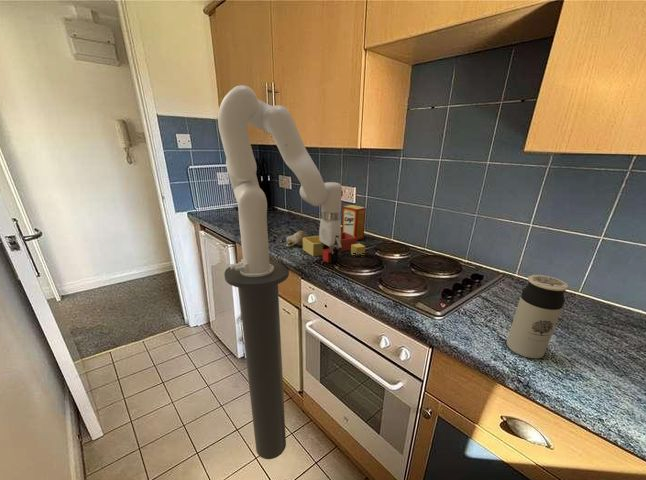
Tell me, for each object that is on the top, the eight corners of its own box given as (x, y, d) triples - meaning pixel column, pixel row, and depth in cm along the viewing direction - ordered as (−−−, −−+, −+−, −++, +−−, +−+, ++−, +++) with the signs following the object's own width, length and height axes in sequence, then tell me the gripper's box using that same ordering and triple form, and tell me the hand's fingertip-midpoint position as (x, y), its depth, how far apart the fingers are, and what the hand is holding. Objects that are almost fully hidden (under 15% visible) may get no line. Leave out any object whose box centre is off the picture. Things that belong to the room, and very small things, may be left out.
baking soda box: (341, 236, 156) (342, 205, 149) (350, 234, 160) (351, 204, 153) (355, 240, 150) (357, 208, 143) (363, 238, 154) (365, 207, 147)
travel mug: (504, 335, 78) (524, 271, 70) (540, 343, 75) (564, 278, 68) (507, 353, 71) (530, 285, 64) (547, 363, 68) (575, 292, 61)
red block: (327, 262, 121) (328, 252, 119) (322, 259, 124) (322, 249, 123) (337, 261, 123) (337, 251, 121) (331, 257, 127) (332, 247, 125)
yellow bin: (313, 256, 127) (313, 244, 125) (302, 249, 135) (302, 237, 133) (333, 253, 132) (334, 241, 130) (322, 246, 140) (322, 235, 138)
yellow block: (356, 257, 128) (357, 247, 126) (350, 254, 131) (351, 244, 129) (364, 255, 130) (365, 246, 128) (358, 252, 133) (359, 243, 132)
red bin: (337, 252, 133) (337, 240, 131) (326, 245, 141) (326, 234, 139) (356, 249, 138) (357, 237, 136) (344, 243, 146) (344, 232, 144)
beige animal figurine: (288, 241, 145) (299, 224, 142) (303, 253, 143) (314, 236, 140) (280, 242, 139) (291, 224, 135) (296, 254, 136) (307, 236, 133)
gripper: (312, 212, 121) (312, 254, 129) (334, 221, 108) (332, 268, 115) (328, 210, 125) (327, 251, 132) (351, 219, 111) (349, 264, 119)
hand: (329, 259), depth 124 cm, fingers open, 5 cm apart
